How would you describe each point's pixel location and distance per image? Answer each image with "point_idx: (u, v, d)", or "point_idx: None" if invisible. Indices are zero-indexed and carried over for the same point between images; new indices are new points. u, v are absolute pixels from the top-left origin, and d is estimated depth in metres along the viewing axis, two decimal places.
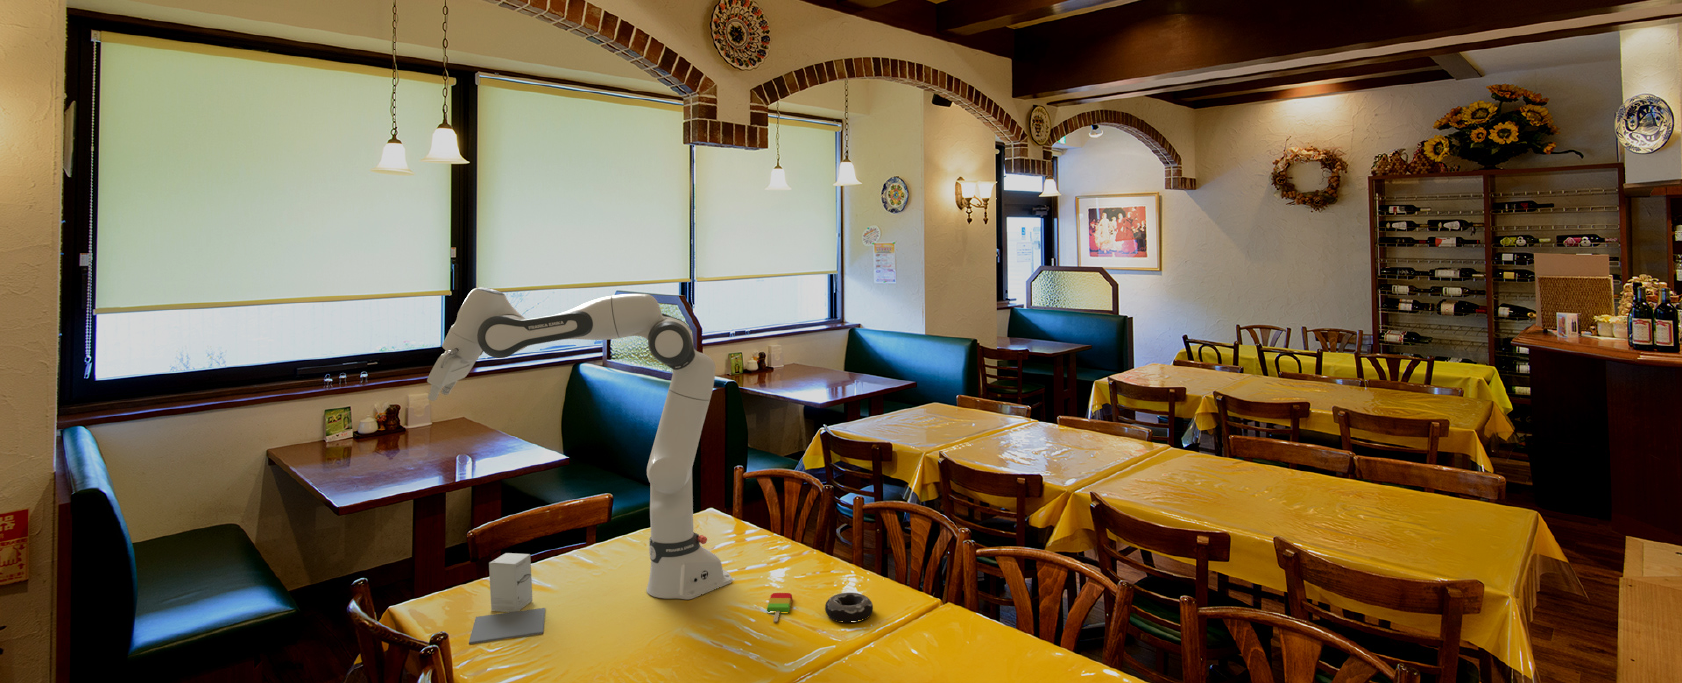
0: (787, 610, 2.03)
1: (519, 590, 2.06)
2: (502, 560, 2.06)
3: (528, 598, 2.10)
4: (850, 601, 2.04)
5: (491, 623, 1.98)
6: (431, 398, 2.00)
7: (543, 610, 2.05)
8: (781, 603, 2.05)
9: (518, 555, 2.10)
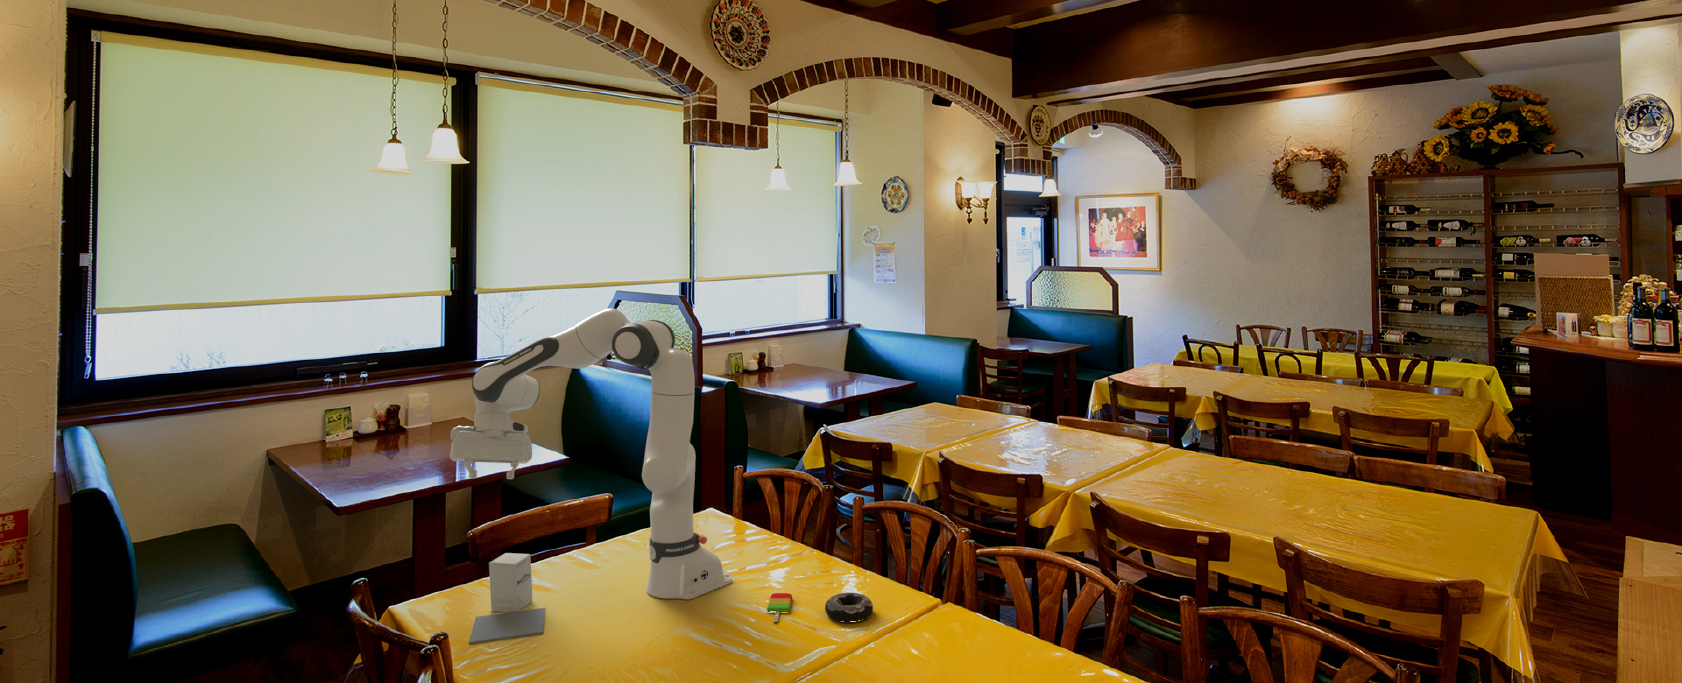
0: (787, 610, 2.03)
1: (519, 590, 2.06)
2: (502, 560, 2.06)
3: (528, 598, 2.10)
4: (850, 601, 2.04)
5: (491, 623, 1.98)
6: (469, 475, 2.13)
7: (543, 610, 2.05)
8: (781, 603, 2.05)
9: (518, 555, 2.10)
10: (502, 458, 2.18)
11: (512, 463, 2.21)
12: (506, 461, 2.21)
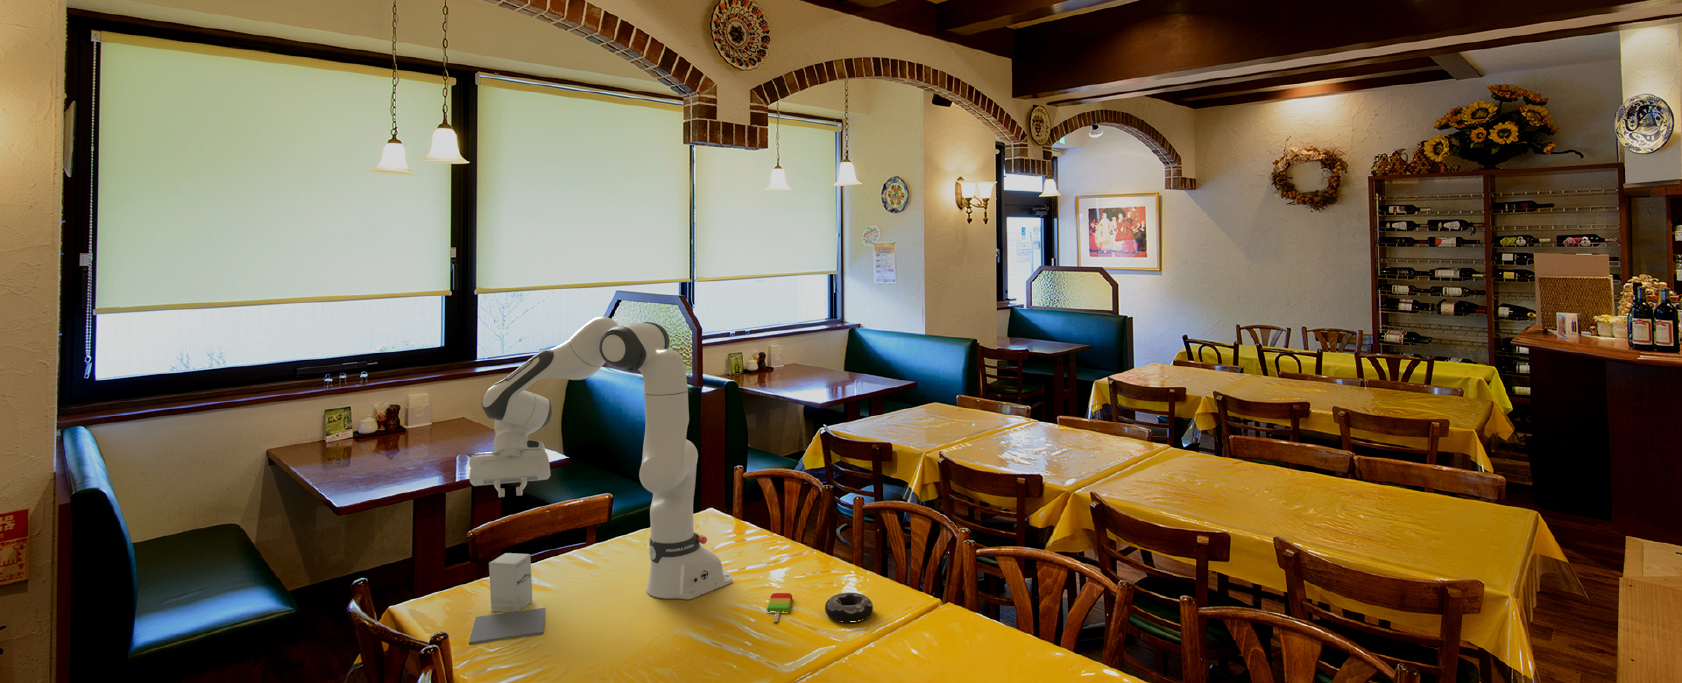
0: (787, 610, 2.03)
1: (519, 590, 2.06)
2: (502, 560, 2.06)
3: (528, 598, 2.10)
4: (850, 601, 2.04)
5: (491, 623, 1.98)
6: (498, 494, 2.18)
7: (543, 610, 2.05)
8: (781, 603, 2.05)
9: (518, 555, 2.10)
10: (518, 475, 2.21)
11: (521, 480, 2.21)
12: (527, 479, 2.23)
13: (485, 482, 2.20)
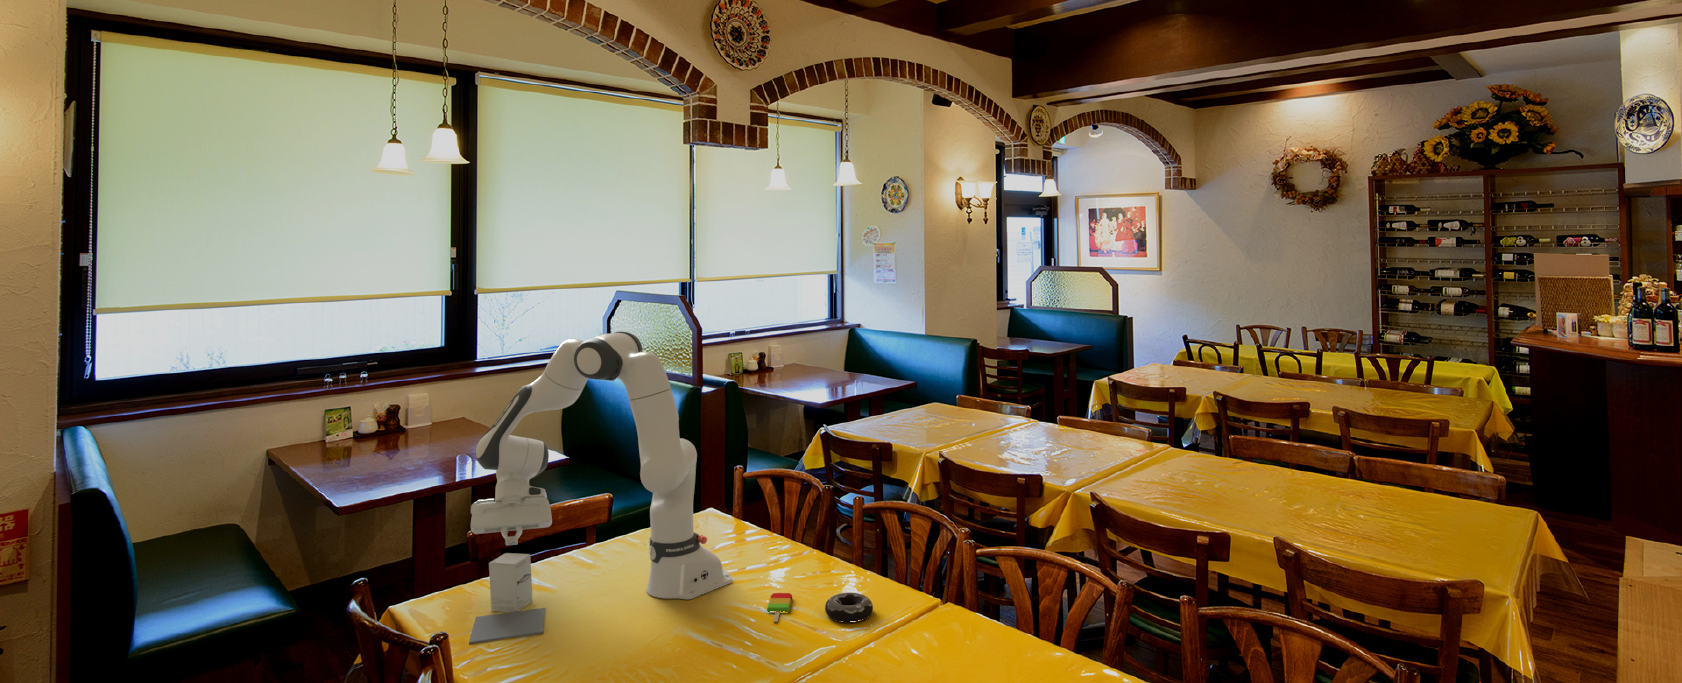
0: (787, 610, 2.03)
1: (519, 590, 2.06)
2: (502, 560, 2.06)
3: (528, 598, 2.10)
4: (850, 601, 2.04)
5: (491, 623, 1.98)
6: (505, 542, 2.17)
7: (543, 610, 2.05)
8: (781, 603, 2.05)
9: (518, 555, 2.10)
10: (520, 523, 2.20)
11: None
12: (528, 527, 2.22)
13: (486, 530, 2.19)
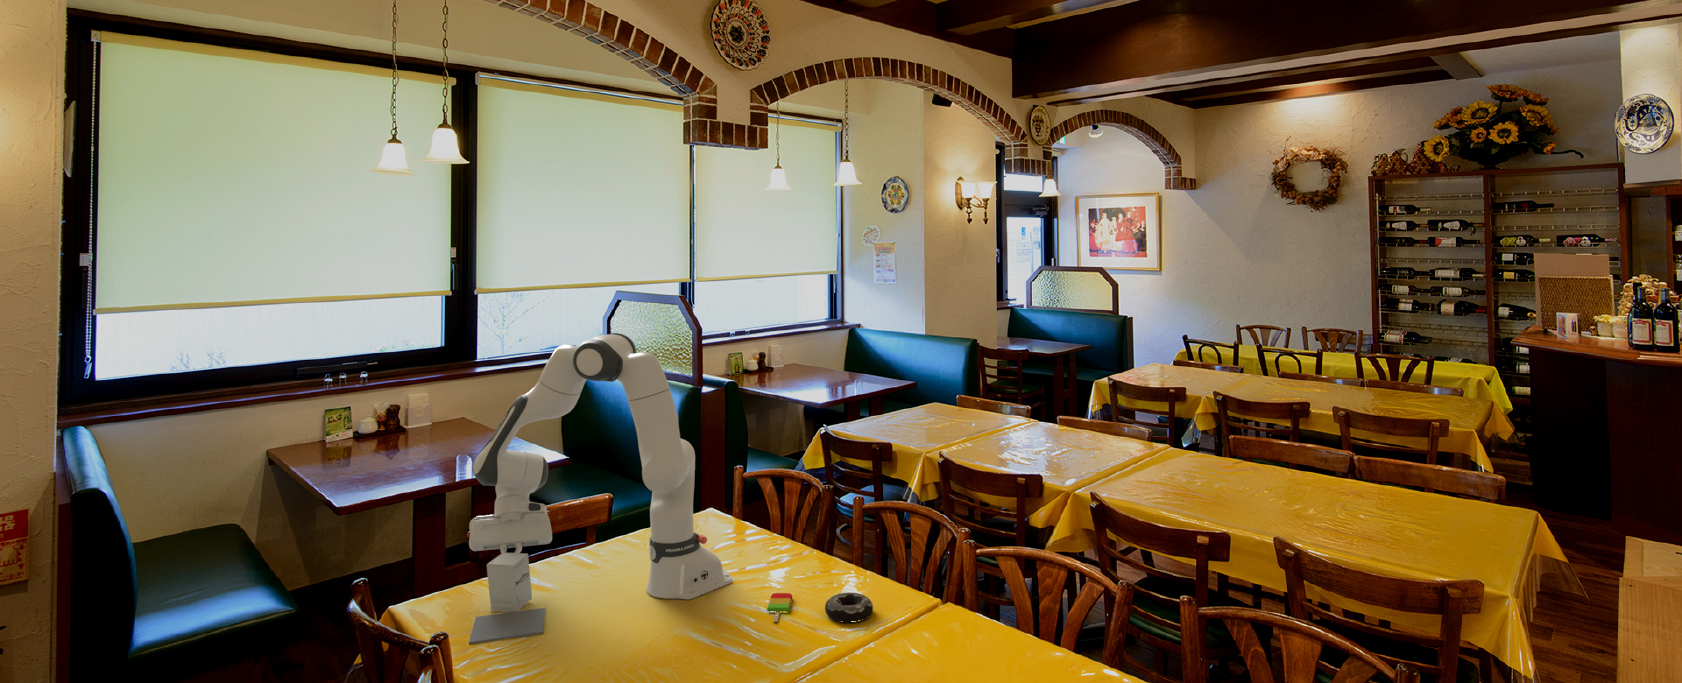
0: (787, 610, 2.03)
1: (518, 590, 2.06)
2: (499, 561, 2.05)
3: (528, 597, 2.10)
4: (850, 601, 2.04)
5: (491, 623, 1.98)
6: None
7: (543, 610, 2.05)
8: (781, 603, 2.06)
9: (516, 555, 2.09)
10: (519, 540, 2.15)
11: (515, 546, 2.15)
12: (528, 544, 2.17)
13: (485, 547, 2.15)
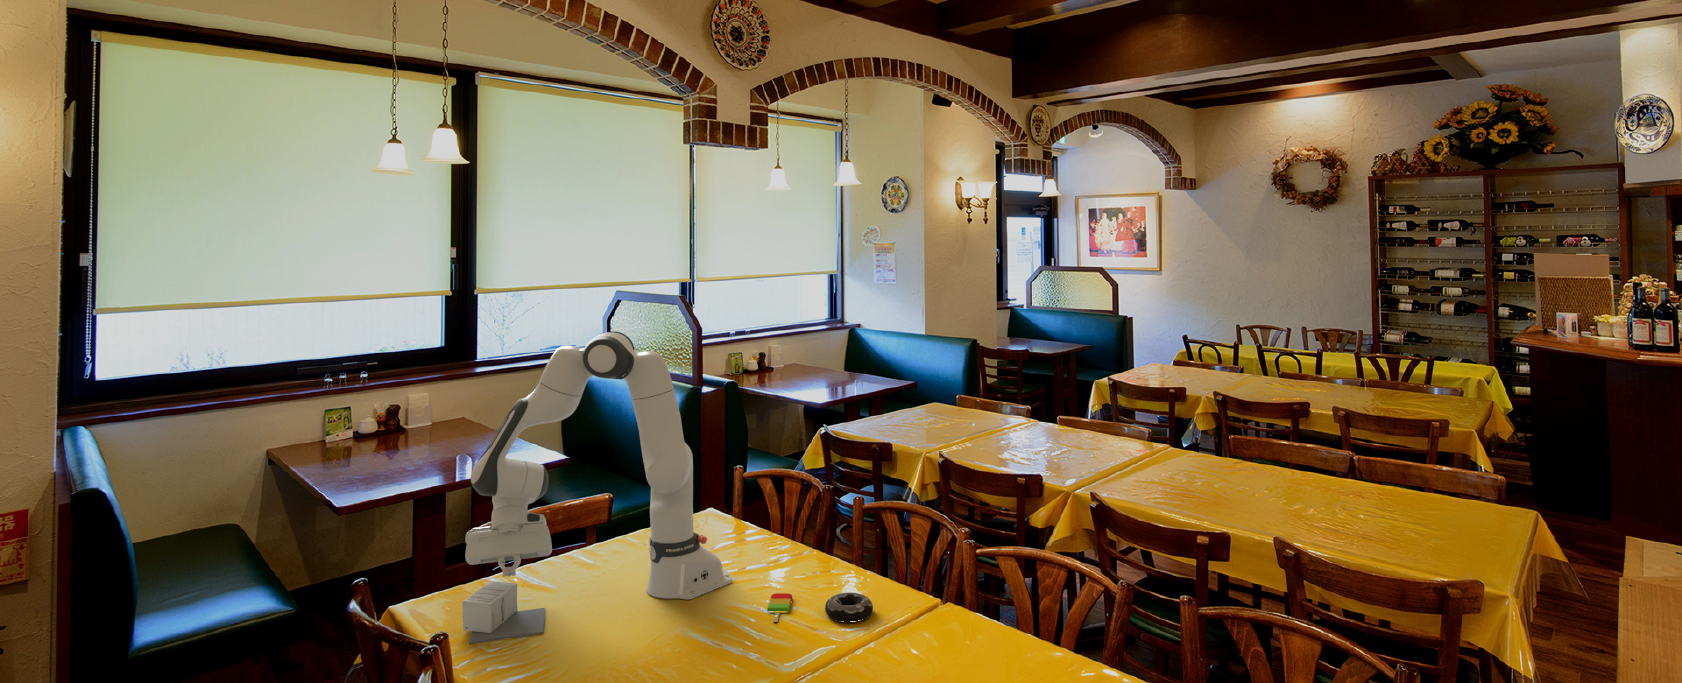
0: (787, 611, 2.03)
1: (507, 613, 2.00)
2: (472, 624, 1.93)
3: (515, 592, 2.03)
4: (850, 601, 2.04)
5: None
6: None
7: (543, 610, 2.05)
8: (781, 603, 2.06)
9: (480, 609, 1.93)
10: (518, 552, 2.06)
11: (514, 558, 2.06)
12: (527, 556, 2.09)
13: (482, 560, 2.06)
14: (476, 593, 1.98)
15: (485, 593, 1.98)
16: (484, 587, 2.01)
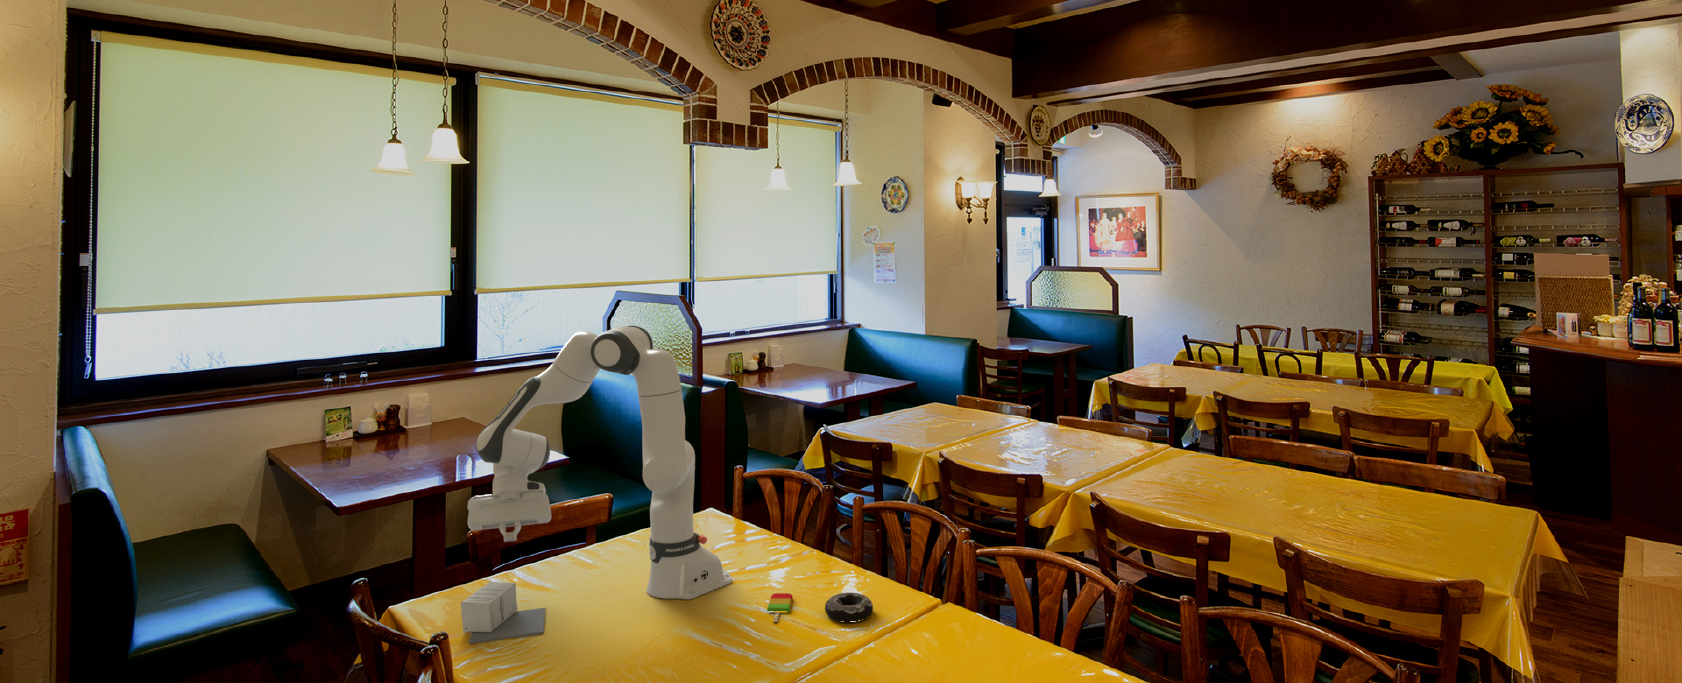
0: (787, 610, 2.03)
1: (506, 613, 2.00)
2: (472, 624, 1.93)
3: (513, 591, 2.03)
4: (850, 601, 2.04)
5: None
6: (504, 539, 2.11)
7: (543, 610, 2.05)
8: (781, 603, 2.06)
9: (479, 609, 1.93)
10: (518, 519, 2.14)
11: (514, 524, 2.14)
12: (527, 522, 2.16)
13: (484, 526, 2.13)
14: (474, 594, 1.98)
15: (483, 593, 1.98)
16: (482, 588, 2.01)
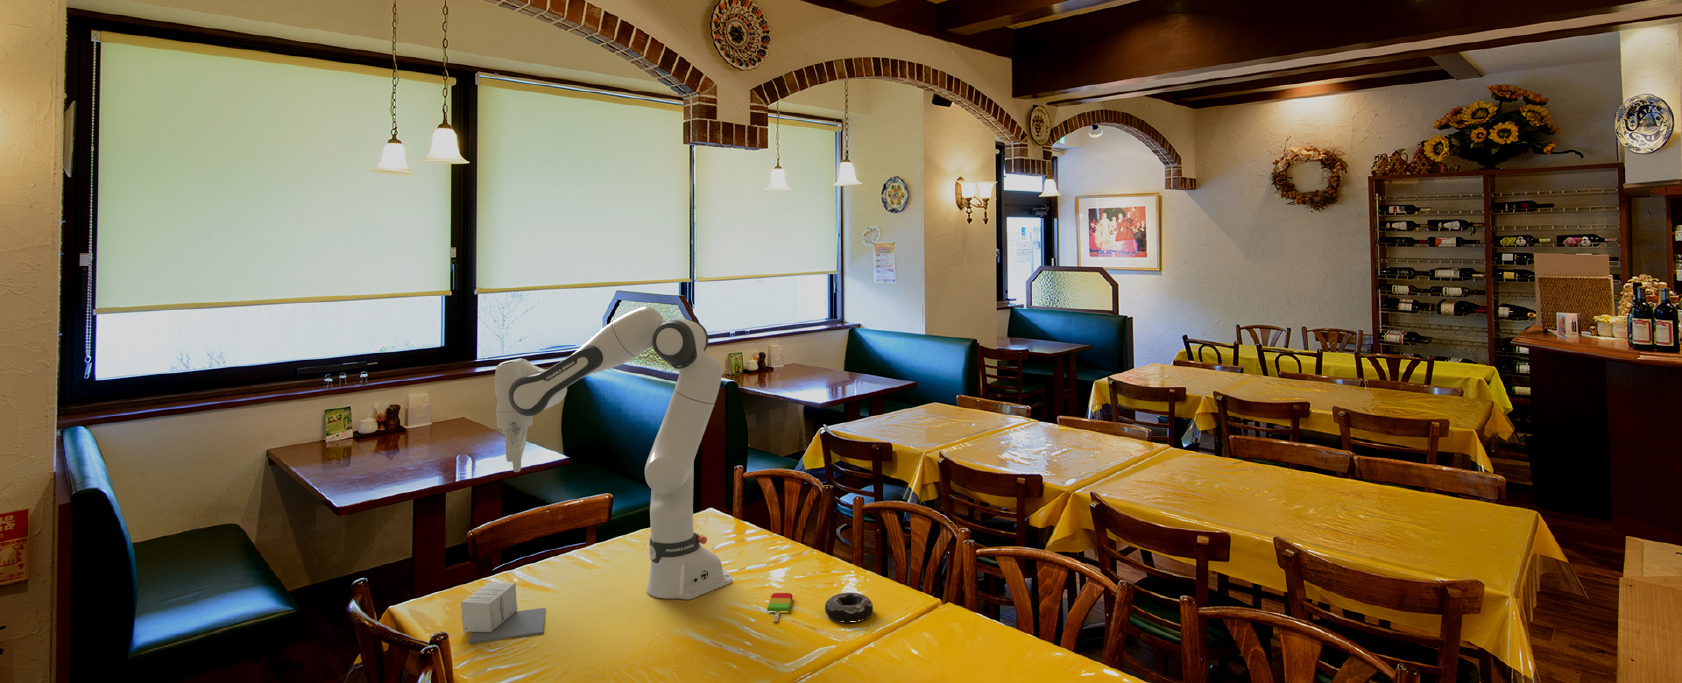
0: (787, 610, 2.03)
1: (506, 613, 2.00)
2: (472, 624, 1.93)
3: (513, 591, 2.03)
4: (850, 601, 2.04)
5: None
6: (517, 469, 2.20)
7: (543, 610, 2.05)
8: (781, 603, 2.06)
9: (479, 609, 1.93)
10: None
11: None
12: None
13: None
14: (474, 594, 1.98)
15: (483, 593, 1.98)
16: (482, 588, 2.01)
